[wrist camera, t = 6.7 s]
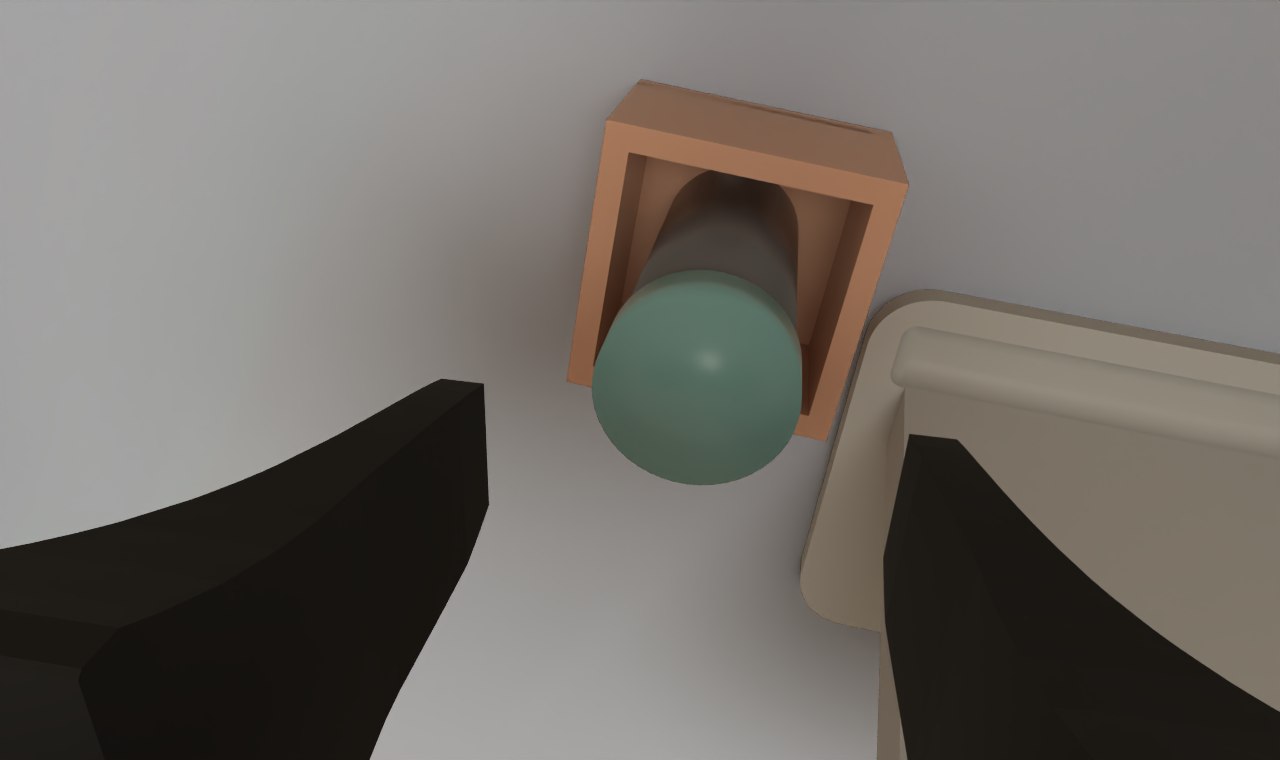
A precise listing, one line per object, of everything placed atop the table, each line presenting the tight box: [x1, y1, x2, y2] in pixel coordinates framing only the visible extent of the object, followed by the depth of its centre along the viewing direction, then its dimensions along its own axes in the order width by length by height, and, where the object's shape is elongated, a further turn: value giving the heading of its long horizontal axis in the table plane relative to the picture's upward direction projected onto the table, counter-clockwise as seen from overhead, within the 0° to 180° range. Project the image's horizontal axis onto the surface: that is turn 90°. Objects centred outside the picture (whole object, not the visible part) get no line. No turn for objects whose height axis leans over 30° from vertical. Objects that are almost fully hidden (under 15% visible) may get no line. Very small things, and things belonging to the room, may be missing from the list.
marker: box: [592, 170, 802, 485], centre depth 18 cm, size 3×3×8 cm
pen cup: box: [567, 79, 909, 441], centre depth 20 cm, size 6×6×4 cm
